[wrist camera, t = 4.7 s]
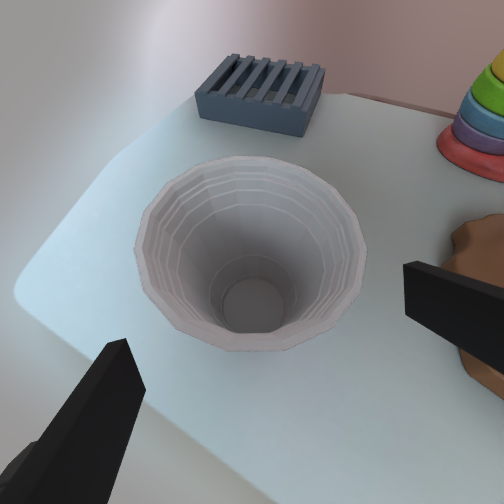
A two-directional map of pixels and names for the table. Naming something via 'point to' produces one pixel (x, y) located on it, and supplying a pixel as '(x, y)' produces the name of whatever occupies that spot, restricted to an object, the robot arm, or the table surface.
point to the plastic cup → (250, 253)
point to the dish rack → (261, 94)
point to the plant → (480, 278)
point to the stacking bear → (479, 126)
